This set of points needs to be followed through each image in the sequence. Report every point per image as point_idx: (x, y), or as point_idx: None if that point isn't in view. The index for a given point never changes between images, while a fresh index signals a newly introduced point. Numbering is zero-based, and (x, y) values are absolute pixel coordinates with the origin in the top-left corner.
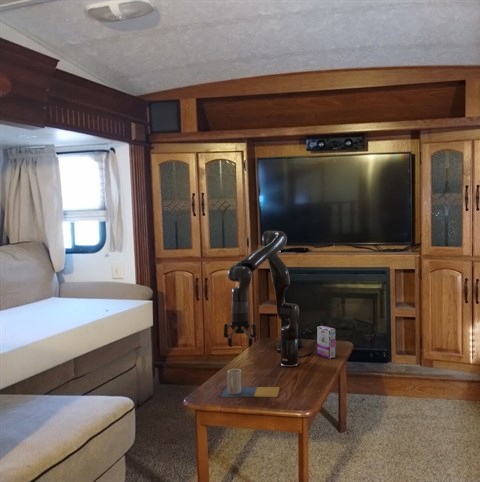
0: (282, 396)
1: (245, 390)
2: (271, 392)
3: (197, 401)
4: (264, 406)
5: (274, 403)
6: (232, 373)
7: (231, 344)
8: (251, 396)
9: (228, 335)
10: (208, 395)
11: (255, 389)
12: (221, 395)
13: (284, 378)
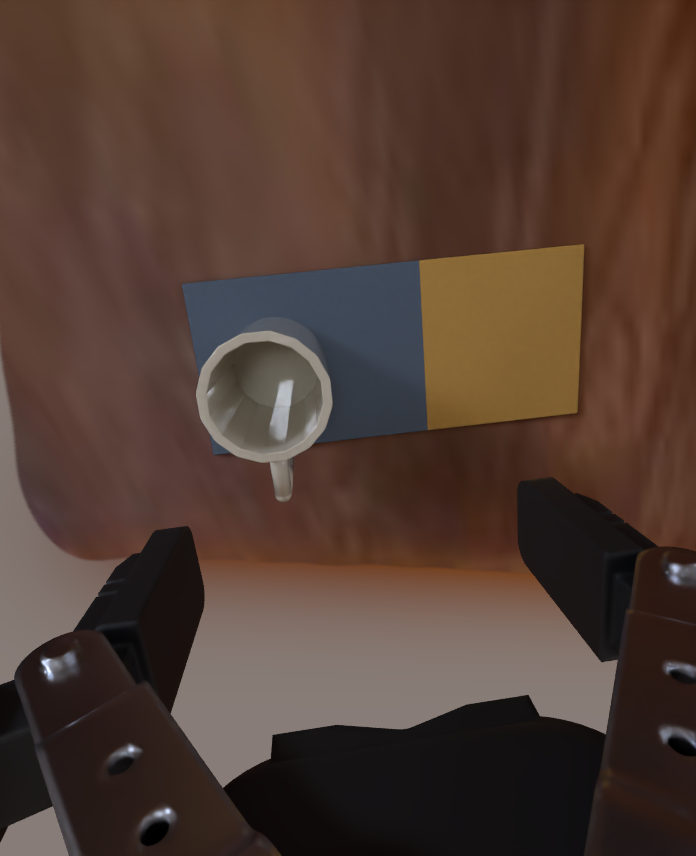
0: (606, 397)
1: (348, 335)
2: (534, 350)
3: (96, 531)
4: (513, 542)
5: None
6: (270, 461)
7: (191, 597)
8: (414, 430)
9: (43, 806)
10: (119, 438)
11: (415, 309)
12: (211, 437)
13: (610, 20)
